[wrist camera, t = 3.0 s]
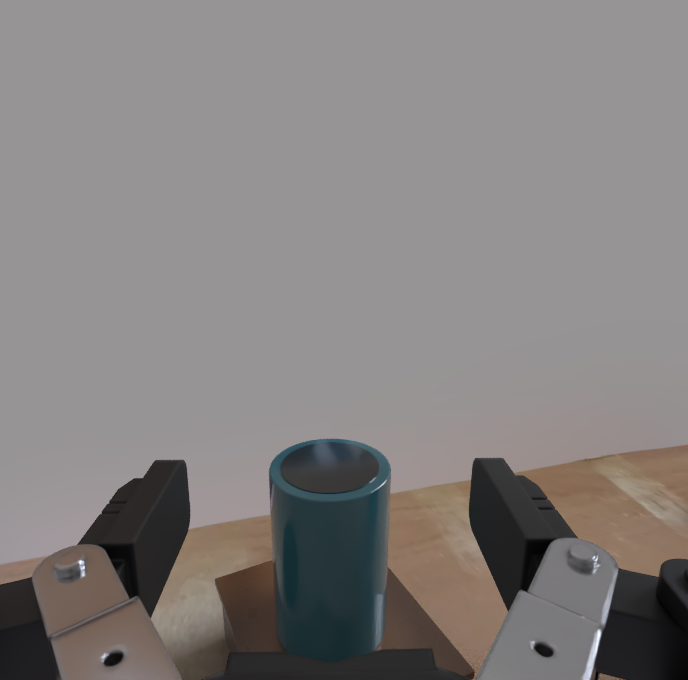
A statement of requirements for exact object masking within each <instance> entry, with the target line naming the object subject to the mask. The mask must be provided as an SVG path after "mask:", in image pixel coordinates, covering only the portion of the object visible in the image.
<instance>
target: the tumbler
mask: <svg viewBox="0 0 688 680" xmlns="http://www.w3.org/2000/svg"><path fill="white" fill-rule="evenodd" d="M390 480H391V468H390V464H389V462H388V460H387V459H386V457H385V456H384V455H383V454H382V453H381V452H379V451H378V450H376V449H374V448H373V447H370V446H368V445H366V444H363V443H359V442H356V441H350V440H343V439H319V440H312V441H306V442H303V443H299V444H296V445H294V446H291V447H289V448H287V449H285V450H284V451H282V452H281V453H280V454H278V455H277V456H276V457H275V458H274V460H273V461H272V463H271V465H270V468H269V485H270V508H271V533H272V558H273V582H274V606H275V628H276V634H277V637H278V639H279V641H280V643H281V645H282V646H283V648H284V649H285V650H286V652H288V653H289V654H294V655H298V656H303V657H307V658H312V659H317V660H321V661H326V662H336V661H340V660H344V659H348V658H351V657H355V656H359V655H363V654H367V653H371V652H373V651H374V650H375V649H376V648H377V646H378V645H379V643H380V642H381V640H382V638H383V635H384V632H385V628H386V603H387V573H388V543H389V512H390V482H391V481H390Z"/></svg>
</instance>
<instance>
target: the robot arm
mask: <svg viewBox="0 0 688 680" xmlns="http://www.w3.org/2000/svg"><path fill="white" fill-rule="evenodd" d="M469 518H470V525H471V528H472V531H473V534H474V536H475V538H476V540H477V543H478V545H479V547H480V549H481V552H482V554H483V556H484V558H485V561H486V563H487V565H488V567H489V570H490V572H491V574H492V576H493V579H494V581H495V583H496V585H497V588H498V590H499V592H500V594H501V597H502V599H503V601H504V603H505V605H506V608H507V610H508V614H507V616H506V618H505V620H504V622H503V624H502V626H501V628H500V630H499V632H498V634H497V636H496V638H495V640H494V642H493V644H492V647H491V649H490V651H489V653H488V655H487V657H486V659H485V661H484V663H483V665H482V667H481V669H480V671H479V673H478V675H477V677H476V679H475V680H598V679H599V674H600V673H603V674H606V675H610V676H614V677H618V678H622V679H625V680H688V560H686V559H671V560H668V561H665V562H664V563H663V564H662V565H661V568H660V573H659V577H656V576H651V575H646V574H641V573H636V572H631V571H627V570H623V569H620V568H618V565H617V563H616V561H615V559H614V558H613V557H612V556H611V555H610V554H609V553H608V552H607V551H605V550H604V549H603V548H601V547H599V546H597V545H595V544H593V543H591V542H588V541H585V540H582V539H578V538H577V536H576V535H575V534H574V532H573V531H572V530H571V528H570V527H569V526H568V524H567V523H566V522H565V520H564V519H563V518H562V516H561V515H560V514H559V512H558V511H557V510H555V507H554V506H553V505H552V503H551V502H550V501H549V500H547V497H546V495H545V494H544V493H543V491H542V490H541V489H540V487H539V486H538V485H536V484H535V483H533V482H532V481H530V480H529V479H528V478H526V477H525V476H515V474H514V473H513V472H512V470H511V469H510V467H509V466H508V464H507V463H506V462H505V460H504V459H503V458H475V460H474V462H473V468H472V478H471V490H470V502H469ZM189 523H190V502H189V490H188V478H187V467H186V463H185V461H184V460H156V461H154V463H153V464H152V466H151V467H150V469H149V470H148V471H147V473H146V474H145V476H144V478H136V479H135V478H134V479H133V480H131V481H130V482H128V483H127V484H125V485H124V486H123V487H121V488H120V489H118V491H117V492H116V493H115V495H114V496H113V497H112V499H111V500H110V502H109V504H107V505H106V507H105V508H104V509H103V511H102V514H100V515H99V516H98V517H97V519H96V520H95V522H94V523H93V524H92V526H91V527H90V528H89V530H88V531H87V532H86V534H85V535H84V537H83V538H82V539H81V541H80V542H79V543H78V544H77V545H76V546H72V547H68V548H65V549H62V550H60V551H58V552H56V553H54V554H52V555H50V556H49V557H47V558H46V559H45V560H43V561H42V562H41V563H40V564H39V565H38V566H37V568H36V569H35V571H34V573H33V576H32V577H31V578H27V579H23V580H19V581H14V582H10V583H6V584H1V585H0V680H183V679H182V677H181V676H180V674H179V672H178V670H177V668H176V666H175V664H174V662H173V660H172V659H171V657H170V655H169V653H168V651H167V649H166V647H165V645H164V643H163V642H162V640H161V638H160V636H159V634H158V632H157V630H156V628H155V627H154V625H153V623H152V621H151V619H150V618H151V616H152V614H153V611H154V609H155V607H156V604H157V602H158V600H159V598H160V595H161V593H162V591H163V588H164V586H165V584H166V581H167V579H168V577H169V574H170V572H171V570H172V567H173V565H174V563H175V560H176V558H177V556H178V554H179V551H180V549H181V547H182V544H183V542H184V540H185V537H186V535H187V532H188V528H189ZM202 680H471V679H469V678H468V677H466V676H463V675H461V674H459V673H457V672H454V671H451V670H448V669H446V668H442V667H438V666H436V662H435V658H434V654H433V650H432V648H421V649H382V650H378V651H374V652H371V653H367V654H363V655H359V656H355V657H351V658H348V659H344V660H340V661H336V662H326V661H321V660H317V659H312V658H307V657H303V656H298V655H294V654H289V653H285V652H280V651H277V652H229V656H228V661H227V665H226V670H225V671H223V672H219V673H216V674H213V675H211V676H208V677H206V678H204V679H202Z"/></svg>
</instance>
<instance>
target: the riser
mask: <svg viewBox="0 0 688 680" xmlns="http://www.w3.org/2000/svg"><path fill="white" fill-rule="evenodd" d="M215 585H216V588H217V591H218V594H219V597H220V600H221V603H222V606H223V618H224V631H225V638H226V641H227V644H228V648H229V651H230V652H277V651H280V652H285V653H288V652H286V650H285V649H284V648H283V646H282V645H281V643H280V641H279V639H278V637H277V634H276V628H275V606H274V582H273V560H271V561H268V562H265V563H262V564H259V565H256V566H253V567H250V568H247V569H244V570H241V571H238V572H235V573H232V574H229V575H225V576H222V577H219V578H216V579H215ZM421 648H432V650H433V654H434V658H435V662H436V666H438V667H442V668H446V669H448V670H451V671H454V672H457V673H459V674H461V675H463V676H466V677H468V678H469V679H473V678H474V670H473V669H472V667H471V666H470V665H469V664H468V663H467V661H466V660H465V659H464V658H463V657H462V655H461V654H460V653H459V652H458V651H457V649H456V648H455V647H454V646H453V645H452V643H451V642H450V641H449V640H448V639H447V637H446V636H445V635H444V634H443V633H442V631H441V630H440V629H439V628H438V627H437V625H436V624H435V623H434V622H433V620H432V619H431V618H430V617H429V616H428V614H427V613H426V612H425V611H424V610H423V608H422V607H421V606H420V605H419V604H418V602H417V601H416V600H415V599H414V598H413V596H412V595H411V594H410V593H409V592H408V590H407V589H406V588H405V587H404V586H403V584H402V583H401V582H400V581H399V580H398V578H397V577H396V576H395V575H394V573H393V572H392V571H391V570H390V569H389V567H388V573H387V603H386V628H385V632H384V635H383V638H382V640H381V642H380V643H379V645H378V646H377V648H376V649H375V650H374V651H378V650H382V649H421ZM374 651H373V652H374Z"/></svg>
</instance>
